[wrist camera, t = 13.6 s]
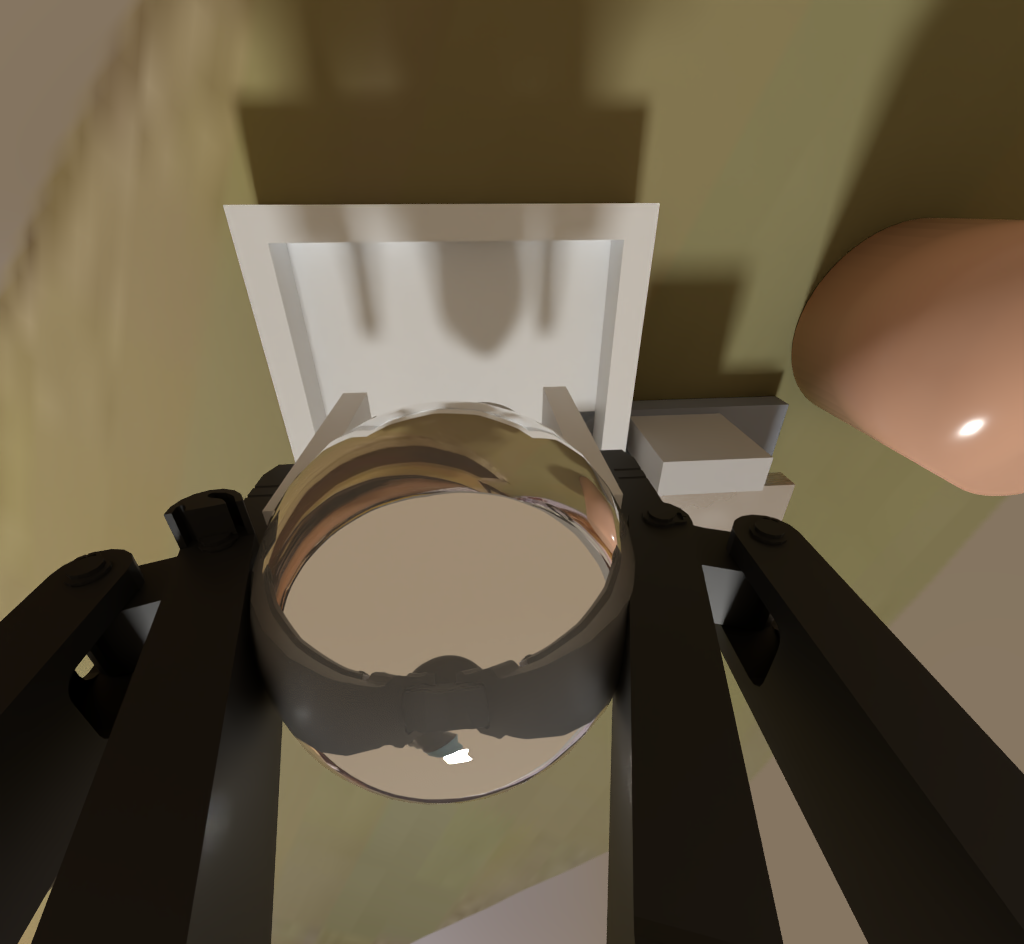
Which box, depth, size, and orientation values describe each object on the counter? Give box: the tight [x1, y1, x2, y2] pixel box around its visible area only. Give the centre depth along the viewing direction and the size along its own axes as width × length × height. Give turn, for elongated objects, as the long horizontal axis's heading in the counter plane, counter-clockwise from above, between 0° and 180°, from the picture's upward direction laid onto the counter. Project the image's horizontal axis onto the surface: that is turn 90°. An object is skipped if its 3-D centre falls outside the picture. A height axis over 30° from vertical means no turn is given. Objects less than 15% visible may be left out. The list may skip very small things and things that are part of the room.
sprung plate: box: [660, 472, 795, 532], centre depth 21 cm, size 9×9×1 cm
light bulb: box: [250, 400, 636, 805], centre depth 11 cm, size 7×7×12 cm
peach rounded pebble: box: [792, 218, 1024, 496], centre depth 16 cm, size 8×8×7 cm
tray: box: [223, 203, 660, 462], centre depth 18 cm, size 13×13×2 cm
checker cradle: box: [580, 396, 789, 496], centre depth 21 cm, size 10×14×5 cm
